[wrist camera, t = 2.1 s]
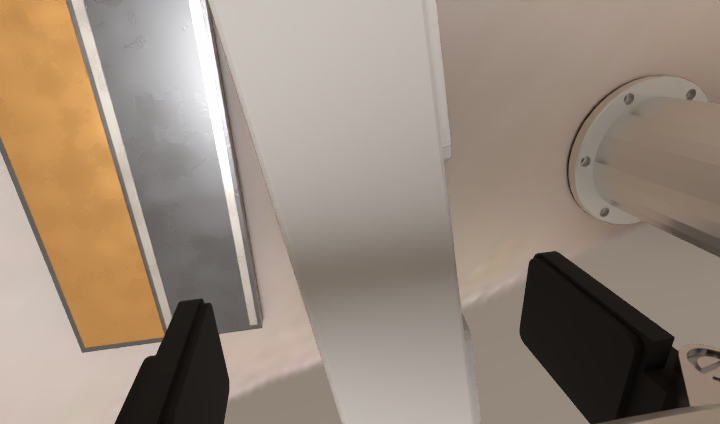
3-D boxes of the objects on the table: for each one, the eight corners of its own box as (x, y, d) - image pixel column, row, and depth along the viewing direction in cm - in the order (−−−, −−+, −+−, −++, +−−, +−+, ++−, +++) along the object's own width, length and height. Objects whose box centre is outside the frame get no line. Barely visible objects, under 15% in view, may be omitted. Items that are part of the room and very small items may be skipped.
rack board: (203, -28, 24) (199, -33, 23) (263, 319, 34) (262, 328, 33) (-54, -23, 22) (-74, -28, 21) (89, 342, 32) (81, 353, 31)
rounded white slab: (420, 291, 35) (530, 497, 19) (338, 313, 35) (379, 545, 18) (357, -86, 24) (500, -387, 8) (235, -61, 23) (100, -330, 7)
